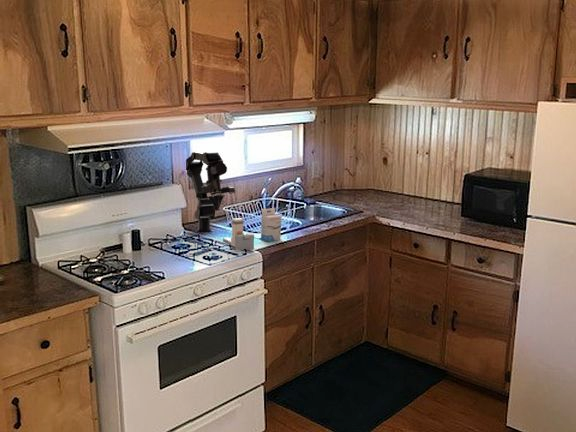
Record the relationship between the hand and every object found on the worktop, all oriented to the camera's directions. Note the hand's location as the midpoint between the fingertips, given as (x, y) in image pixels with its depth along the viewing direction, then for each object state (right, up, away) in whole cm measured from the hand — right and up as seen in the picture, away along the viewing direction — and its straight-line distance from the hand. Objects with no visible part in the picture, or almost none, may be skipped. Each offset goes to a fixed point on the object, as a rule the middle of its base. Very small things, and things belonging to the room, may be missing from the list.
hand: (217, 210), depth 296 cm
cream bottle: (+11, -16, -13) cm, 23 cm away
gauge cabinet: (+14, -17, -17) cm, 28 cm away
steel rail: (+9, -15, -9) cm, 20 cm away
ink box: (+25, -14, +2) cm, 29 cm away
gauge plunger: (+14, -12, -17) cm, 25 cm away
